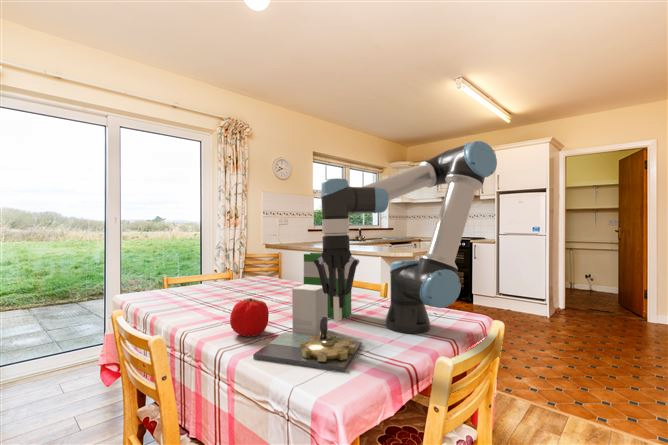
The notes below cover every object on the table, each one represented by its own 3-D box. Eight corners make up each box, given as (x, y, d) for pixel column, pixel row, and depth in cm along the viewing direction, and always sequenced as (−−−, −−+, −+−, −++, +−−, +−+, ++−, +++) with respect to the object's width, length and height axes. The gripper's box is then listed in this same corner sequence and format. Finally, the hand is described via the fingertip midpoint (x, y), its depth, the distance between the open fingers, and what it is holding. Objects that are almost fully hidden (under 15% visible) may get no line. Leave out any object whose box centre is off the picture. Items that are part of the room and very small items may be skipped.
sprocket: (364, 357, 82) (364, 327, 83) (308, 365, 77) (308, 333, 78) (343, 338, 96) (343, 312, 97) (294, 344, 91) (294, 317, 92)
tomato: (232, 343, 96) (232, 304, 96) (227, 330, 108) (228, 295, 109) (272, 337, 101) (273, 300, 101) (264, 326, 113) (264, 293, 114)
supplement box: (328, 330, 109) (328, 285, 109) (316, 338, 101) (316, 290, 101) (305, 326, 113) (305, 283, 113) (291, 334, 105) (291, 287, 105)
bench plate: (361, 345, 94) (361, 341, 94) (344, 372, 77) (344, 366, 77) (284, 336, 102) (284, 332, 102) (253, 358, 85) (253, 353, 85)
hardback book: (303, 314, 129) (303, 254, 129) (310, 309, 136) (311, 252, 136) (345, 318, 123) (345, 255, 123) (351, 313, 130) (351, 253, 130)
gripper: (361, 233, 92) (363, 317, 92) (318, 234, 96) (320, 314, 96) (354, 234, 85) (357, 325, 84) (309, 235, 89) (311, 321, 89)
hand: (337, 319), depth 90 cm, fingers closed
